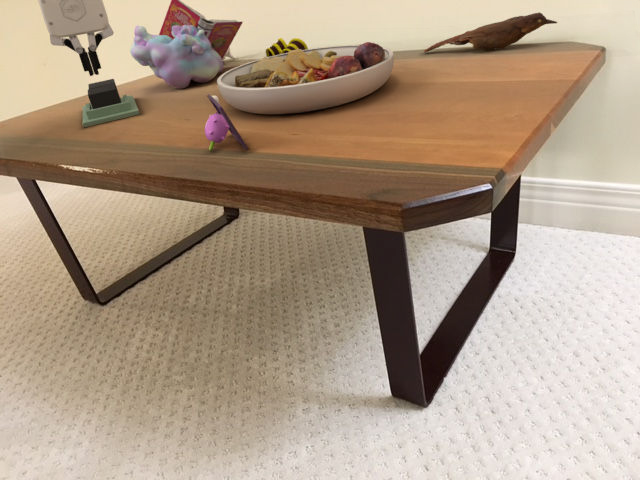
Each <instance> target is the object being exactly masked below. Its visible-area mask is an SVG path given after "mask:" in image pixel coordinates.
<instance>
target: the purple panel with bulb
mask: <svg viewBox="0 0 640 480" xmlns="http://www.w3.org/2000/svg"><path fill="white" fill-rule="evenodd" d="M206 97H207V98H208V100H209V102H210V103H211V105H212V106H213V108H214V109H215V111H216V112H215V113H213V114H209V117H208V119H207V121H206V123H205V126H204V135H205V137H206V139H207V140H208V141H209V142H210V144H209V146H208V147H209V149H208V151H209V152H212V151H213V149H214V147H215V145H216V144H221V143H222V142H223V141H225V139H226V137H227V135H228V132H230V134H231V135H232V137H233V138H235V140H236V141H237V142H238V143H239V144H240V145H241V146H242V148H244V150H245V151H249V147H248V146H247V144H246V142H245V141H244V139H243V138H242V136H241V134H240V133H239V131H238V130H237V128H236V127H235V125H234V123H233V122H232V120H231V119H230V117H229V116H228V113H226V111H225V109H224V108H223V106H222V105H221V104H220V103H219V102H220V99H219V97H218V96H217V95H211V94H209V93H207V94H206Z"/></svg>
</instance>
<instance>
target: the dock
mask: <svg viewBox="0 0 640 480" xmlns="http://www.w3.org/2000/svg"><path fill="white" fill-rule="evenodd" d="M111 84H115V87H116V90H117V93H118V96H119V99H120V102H121V103H119V104H114V105H110V106H105V107H101V108H97V109H93V108H92V106H91V103H90V102H87V103H85V105H82V127H83V128H87V127H91V126H97V125H100V124H104V123H110V122H114V121H117V120H121V119H122V120H123V119H125V118H129V117H130V118H131V117H135V116H139V115H140V114H141V113H140V111H139V108H138V105H137V103H136V100H135V98H134V96H133V95H132V94H130V95H127V94H123V95H122V97H120V94H119V90H118V87H117V84H116V81H115V78H109V79H105V80H101V81H97V82H92V83H88V84H87V85H88V90H89V89H93V88H98V87H102V86H107V85H111Z"/></svg>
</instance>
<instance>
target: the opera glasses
mask: <svg viewBox="0 0 640 480" xmlns="http://www.w3.org/2000/svg"><path fill="white" fill-rule="evenodd" d="M296 49H301V50H307V49H309V48H308V45H307V44H306V42H305V41H304V40H303V39H301V38H297V37H295V38H292V39H290V40H289V42H288V44H287V42H286V41H285V40H284V39H283V38H282V37H280V38H278V39H277V41H276V42H274V43H273V44H272V45H271V46H270V47H267V48H265V55H266V57H271V56H275V55H279V54H284V53H288V52H289V51H292V50H296Z"/></svg>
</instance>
